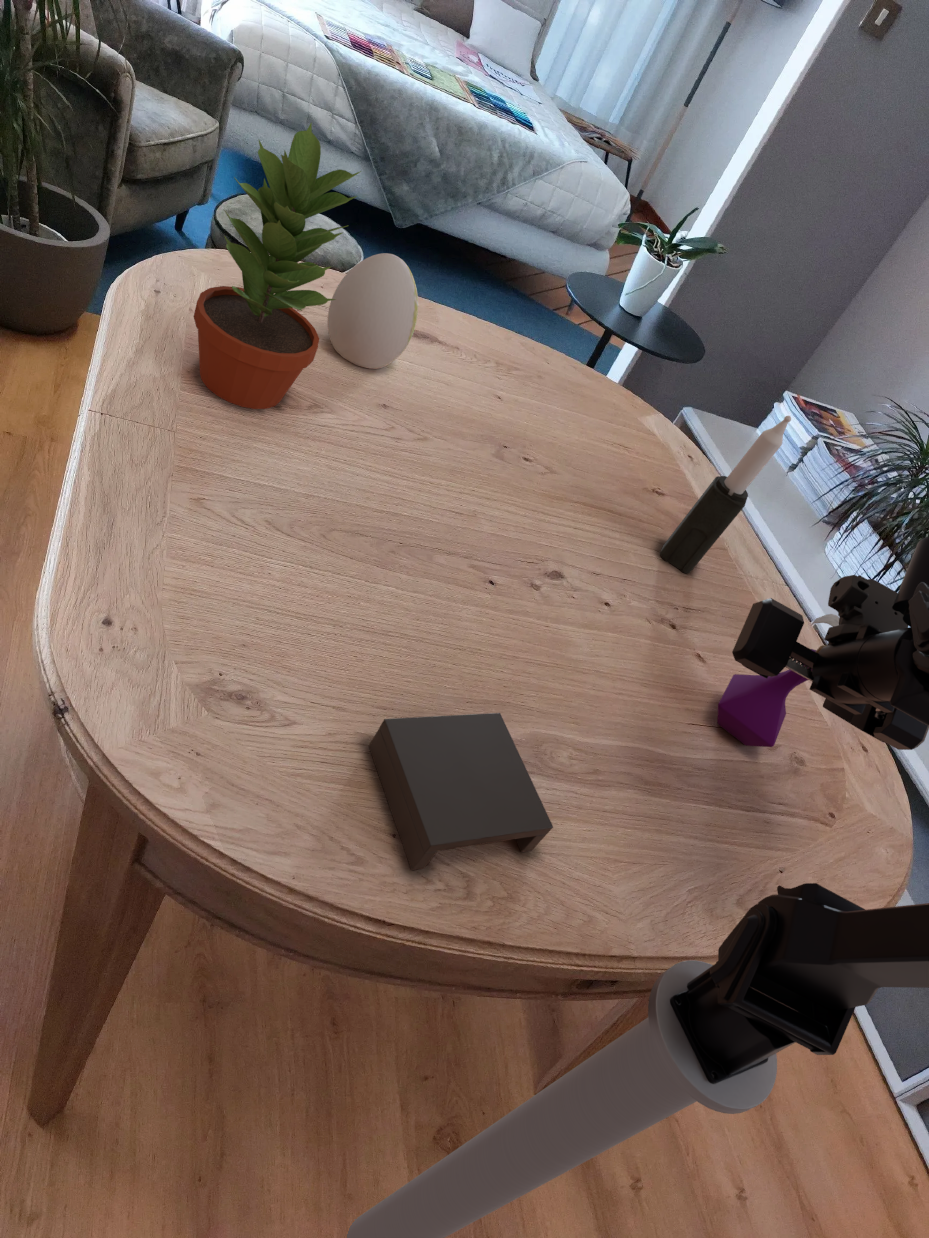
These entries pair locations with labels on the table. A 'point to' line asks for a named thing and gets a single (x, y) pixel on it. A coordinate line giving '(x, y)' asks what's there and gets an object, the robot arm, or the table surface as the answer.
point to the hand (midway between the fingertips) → (786, 681)
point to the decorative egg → (374, 311)
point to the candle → (720, 504)
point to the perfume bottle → (760, 702)
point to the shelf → (456, 784)
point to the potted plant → (270, 283)
